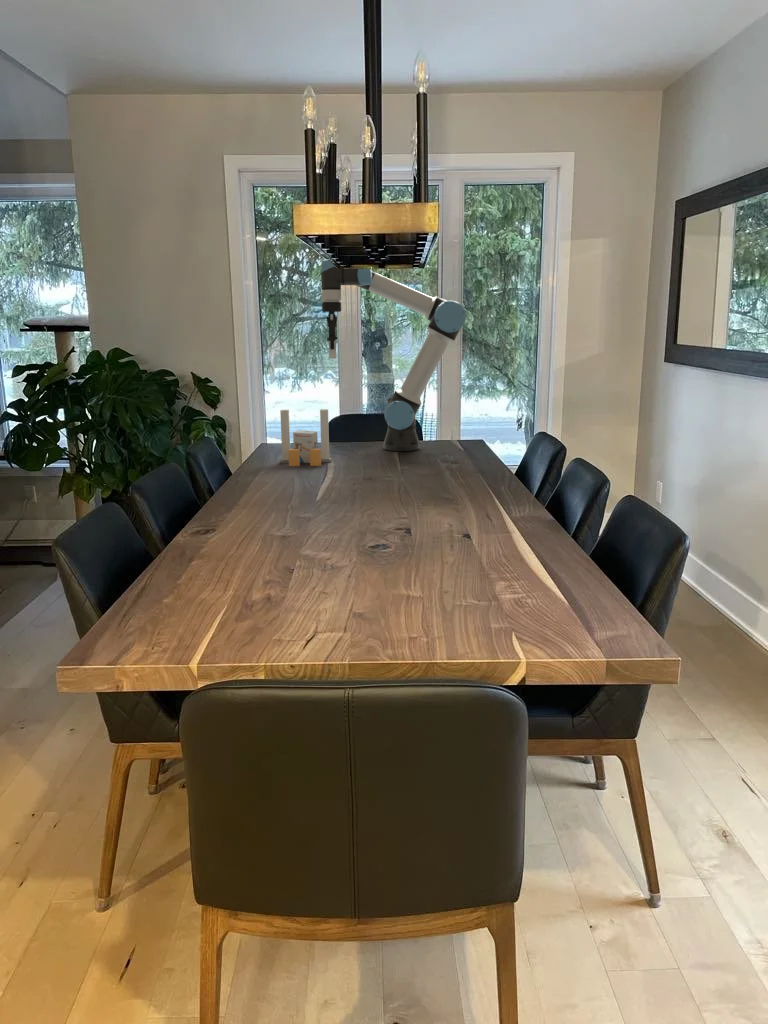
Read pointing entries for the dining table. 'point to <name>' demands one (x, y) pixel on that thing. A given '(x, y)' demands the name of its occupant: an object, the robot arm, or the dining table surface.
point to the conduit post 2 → (324, 435)
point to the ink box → (305, 443)
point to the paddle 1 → (294, 457)
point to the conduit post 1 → (285, 435)
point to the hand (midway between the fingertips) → (332, 357)
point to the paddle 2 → (315, 457)
